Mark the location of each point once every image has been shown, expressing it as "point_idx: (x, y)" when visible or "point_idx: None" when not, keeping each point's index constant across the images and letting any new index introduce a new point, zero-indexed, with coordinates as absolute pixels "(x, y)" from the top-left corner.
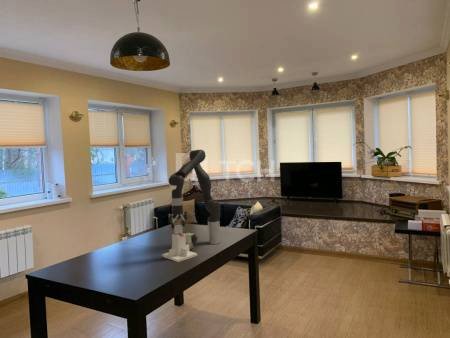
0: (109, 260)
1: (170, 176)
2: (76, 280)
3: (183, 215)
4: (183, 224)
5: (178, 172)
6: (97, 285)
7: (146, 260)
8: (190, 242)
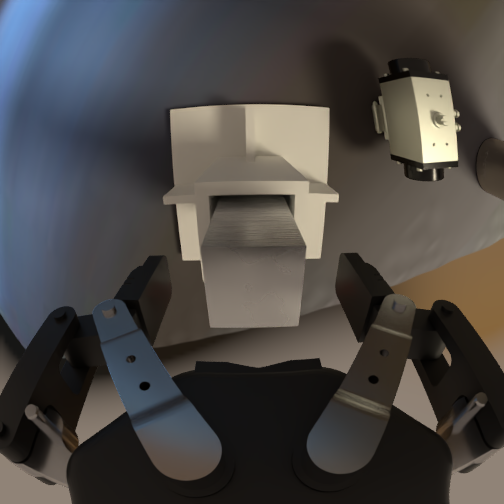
0: (19, 30)
1: None
2: None
3: (465, 363)
4: (344, 306)
5: None
6: None
7: (89, 115)
8: (392, 146)
